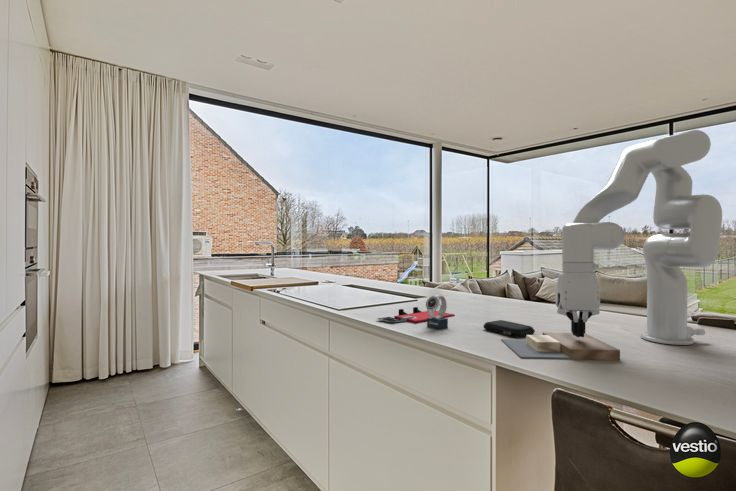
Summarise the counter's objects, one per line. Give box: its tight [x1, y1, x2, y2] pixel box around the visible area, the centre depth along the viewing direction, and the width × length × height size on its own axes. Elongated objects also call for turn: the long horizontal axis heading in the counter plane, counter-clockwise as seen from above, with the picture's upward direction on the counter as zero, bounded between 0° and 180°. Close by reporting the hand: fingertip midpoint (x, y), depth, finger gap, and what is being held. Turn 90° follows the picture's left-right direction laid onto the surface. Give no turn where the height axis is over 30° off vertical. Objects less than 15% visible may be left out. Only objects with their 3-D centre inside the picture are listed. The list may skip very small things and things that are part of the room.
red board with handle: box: [377, 306, 456, 325], centre depth 151 cm, size 30×3×15 cm
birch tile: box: [525, 334, 560, 352], centre depth 107 cm, size 6×8×2 cm
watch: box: [425, 294, 449, 330], centre depth 134 cm, size 6×8×11 cm
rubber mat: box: [500, 338, 571, 360], centre depth 107 cm, size 12×18×1 cm, turn 176°
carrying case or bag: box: [482, 319, 535, 339], centre depth 127 cm, size 11×3×15 cm
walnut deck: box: [542, 332, 621, 361], centre depth 106 cm, size 12×18×2 cm, turn 176°
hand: (578, 335), depth 106 cm, fingers closed
